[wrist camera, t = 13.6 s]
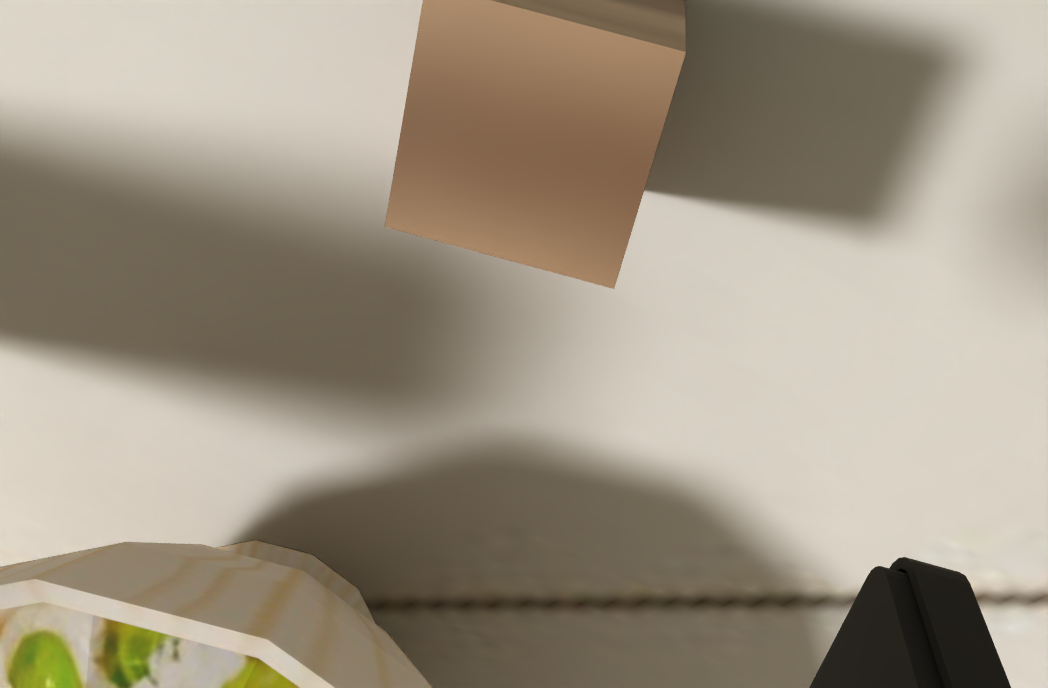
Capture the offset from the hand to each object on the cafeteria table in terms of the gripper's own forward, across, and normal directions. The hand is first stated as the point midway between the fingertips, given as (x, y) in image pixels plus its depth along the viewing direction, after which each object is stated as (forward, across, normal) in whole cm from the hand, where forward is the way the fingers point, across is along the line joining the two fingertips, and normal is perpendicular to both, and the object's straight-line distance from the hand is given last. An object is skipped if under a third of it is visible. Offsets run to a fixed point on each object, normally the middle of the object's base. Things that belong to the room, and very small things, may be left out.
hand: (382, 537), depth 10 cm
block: (+15, 0, -2) cm, 15 cm away
